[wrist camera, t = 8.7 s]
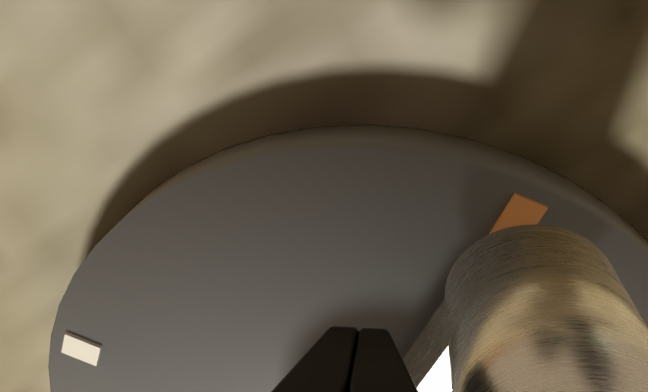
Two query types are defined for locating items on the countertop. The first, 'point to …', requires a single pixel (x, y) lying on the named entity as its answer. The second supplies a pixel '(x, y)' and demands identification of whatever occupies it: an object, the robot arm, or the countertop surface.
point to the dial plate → (302, 255)
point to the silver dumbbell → (532, 320)
